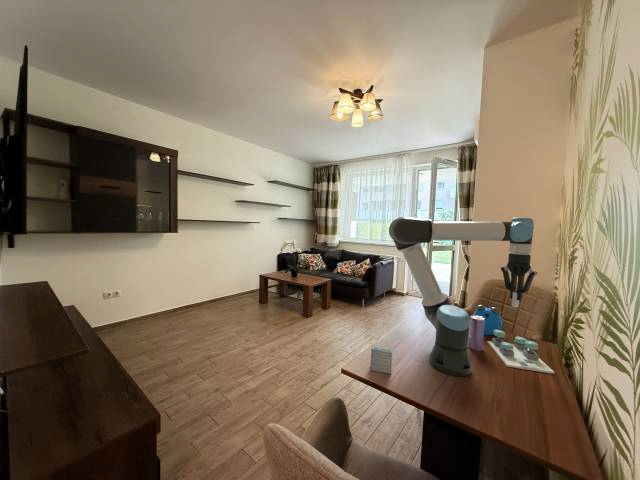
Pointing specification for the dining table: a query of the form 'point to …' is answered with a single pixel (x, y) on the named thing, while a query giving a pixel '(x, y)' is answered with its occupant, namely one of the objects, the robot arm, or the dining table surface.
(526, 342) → the button
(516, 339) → the button
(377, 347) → the medicine box
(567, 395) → the dining table surface
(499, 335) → the button
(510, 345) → the button
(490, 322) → the alarm clock
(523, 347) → the board
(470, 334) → the beverage can
